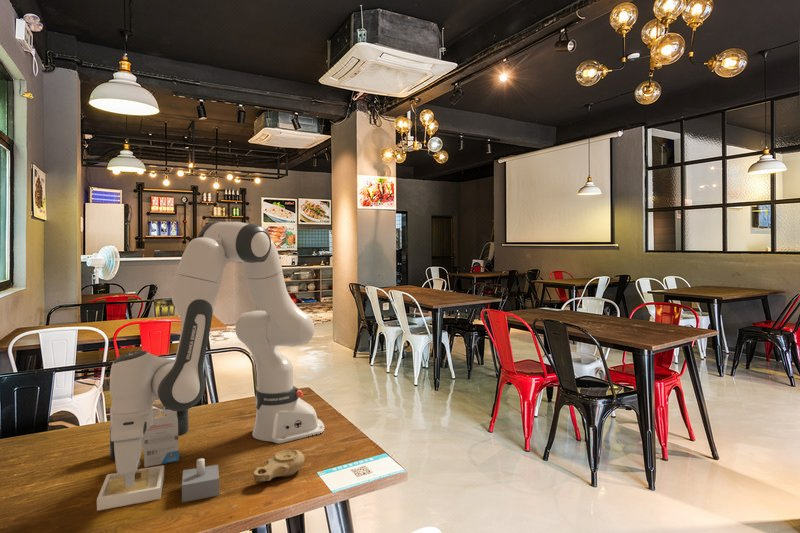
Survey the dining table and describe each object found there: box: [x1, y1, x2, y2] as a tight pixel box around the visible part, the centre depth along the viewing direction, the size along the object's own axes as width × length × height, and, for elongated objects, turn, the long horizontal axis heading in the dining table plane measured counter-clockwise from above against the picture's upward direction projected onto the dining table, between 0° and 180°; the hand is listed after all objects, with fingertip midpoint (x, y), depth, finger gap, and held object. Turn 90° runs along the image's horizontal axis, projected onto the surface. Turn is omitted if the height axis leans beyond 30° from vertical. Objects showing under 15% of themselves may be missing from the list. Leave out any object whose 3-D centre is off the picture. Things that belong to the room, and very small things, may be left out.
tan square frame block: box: [109, 469, 149, 495], centre depth 111 cm, size 8×6×3 cm
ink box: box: [143, 409, 180, 468], centre depth 128 cm, size 9×5×15 cm, turn 117°
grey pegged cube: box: [181, 457, 220, 503], centre depth 112 cm, size 8×8×8 cm
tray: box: [96, 464, 165, 511], centre depth 111 cm, size 13×13×3 cm
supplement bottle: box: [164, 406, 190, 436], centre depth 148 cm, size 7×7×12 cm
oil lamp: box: [252, 449, 305, 482], centre depth 119 cm, size 11×14×5 cm
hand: (133, 476), depth 111 cm, fingers open, 8 cm apart
